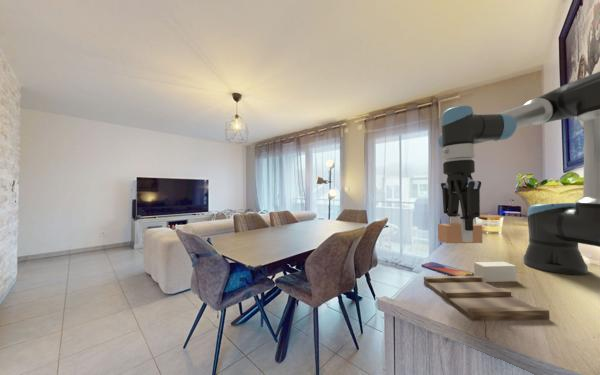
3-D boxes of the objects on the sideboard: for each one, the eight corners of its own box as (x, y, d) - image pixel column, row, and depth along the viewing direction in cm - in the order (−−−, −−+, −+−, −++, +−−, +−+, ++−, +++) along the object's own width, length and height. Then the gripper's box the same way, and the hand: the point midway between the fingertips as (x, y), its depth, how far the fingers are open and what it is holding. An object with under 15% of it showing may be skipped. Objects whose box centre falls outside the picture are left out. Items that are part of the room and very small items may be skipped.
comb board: (478, 281, 69) (478, 275, 69) (549, 319, 49) (549, 310, 49) (424, 282, 69) (423, 276, 69) (472, 320, 49) (472, 311, 49)
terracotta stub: (471, 239, 66) (471, 223, 66) (482, 243, 62) (481, 225, 62) (438, 240, 66) (437, 223, 66) (447, 243, 62) (446, 225, 62)
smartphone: (432, 264, 87) (432, 261, 87) (475, 276, 74) (475, 273, 74) (420, 267, 84) (420, 264, 84) (463, 280, 70) (463, 277, 70)
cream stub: (505, 276, 72) (504, 261, 73) (516, 281, 68) (516, 265, 69) (474, 277, 73) (473, 262, 73) (484, 282, 69) (483, 266, 69)
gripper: (428, 164, 73) (431, 234, 73) (466, 156, 56) (470, 247, 56) (451, 163, 73) (454, 233, 72) (496, 155, 56) (500, 247, 55)
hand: (461, 239), depth 64 cm, fingers closed on terracotta stub, 4 cm apart
